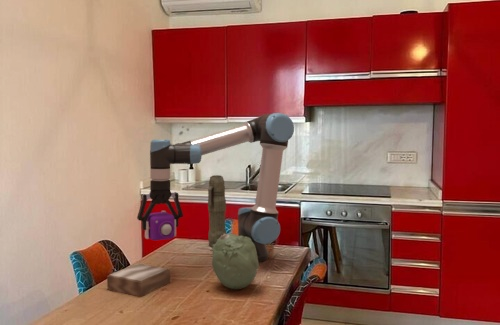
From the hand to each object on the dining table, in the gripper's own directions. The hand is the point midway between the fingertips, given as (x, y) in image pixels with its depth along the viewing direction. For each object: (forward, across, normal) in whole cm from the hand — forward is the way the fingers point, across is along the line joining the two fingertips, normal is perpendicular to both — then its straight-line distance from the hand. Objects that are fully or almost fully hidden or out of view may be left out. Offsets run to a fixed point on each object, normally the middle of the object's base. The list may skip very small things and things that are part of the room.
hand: (160, 236), depth 169 cm
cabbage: (+16, -22, +23) cm, 35 cm away
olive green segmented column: (+16, -38, -35) cm, 54 cm away
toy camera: (+1, 0, 0) cm, 1 cm away
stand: (+17, +9, +4) cm, 20 cm away
